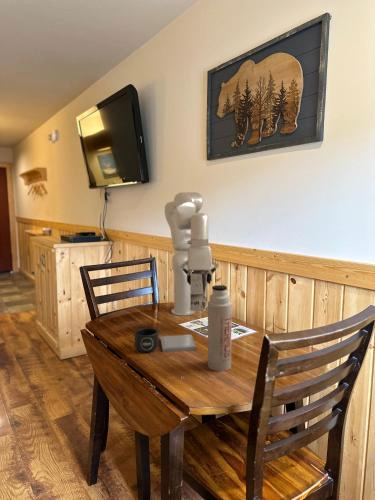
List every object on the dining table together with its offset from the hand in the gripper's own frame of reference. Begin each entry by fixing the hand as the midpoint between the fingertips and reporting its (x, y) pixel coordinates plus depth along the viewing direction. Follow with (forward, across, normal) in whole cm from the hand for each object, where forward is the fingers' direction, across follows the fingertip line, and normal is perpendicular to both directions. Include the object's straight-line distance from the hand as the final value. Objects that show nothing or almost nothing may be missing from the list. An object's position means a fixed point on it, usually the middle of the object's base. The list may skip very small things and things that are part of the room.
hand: (199, 283), depth 148 cm
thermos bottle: (+21, +1, -33) cm, 39 cm away
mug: (+22, -23, -14) cm, 35 cm away
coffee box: (+11, 0, 0) cm, 11 cm away
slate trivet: (+22, -11, -12) cm, 27 cm away
